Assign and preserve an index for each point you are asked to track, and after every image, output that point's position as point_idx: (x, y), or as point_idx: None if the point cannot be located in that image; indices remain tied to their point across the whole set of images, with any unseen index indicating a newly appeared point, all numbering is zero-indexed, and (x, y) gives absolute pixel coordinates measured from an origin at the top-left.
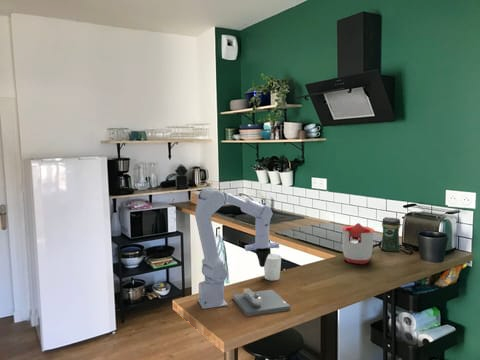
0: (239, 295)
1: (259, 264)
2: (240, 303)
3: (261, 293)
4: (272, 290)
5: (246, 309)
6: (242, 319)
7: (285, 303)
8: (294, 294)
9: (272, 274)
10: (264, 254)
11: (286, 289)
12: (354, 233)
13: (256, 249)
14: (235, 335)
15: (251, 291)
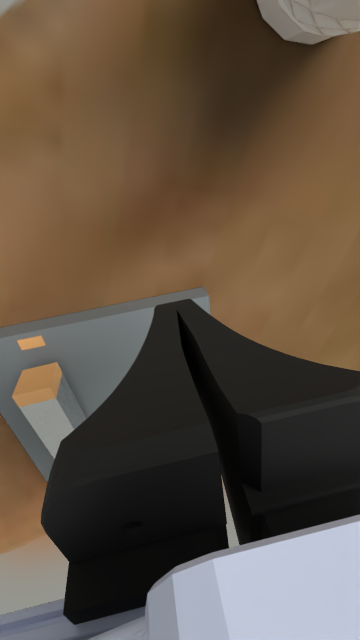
0: (2, 357)
1: (154, 313)
2: (16, 430)
3: (134, 340)
4: (205, 308)
5: (46, 469)
6: (35, 483)
7: None
8: (304, 311)
9: (317, 28)
10: (231, 508)
11: (300, 244)
12: None
13: (91, 620)
14: (17, 541)
15: (66, 425)
